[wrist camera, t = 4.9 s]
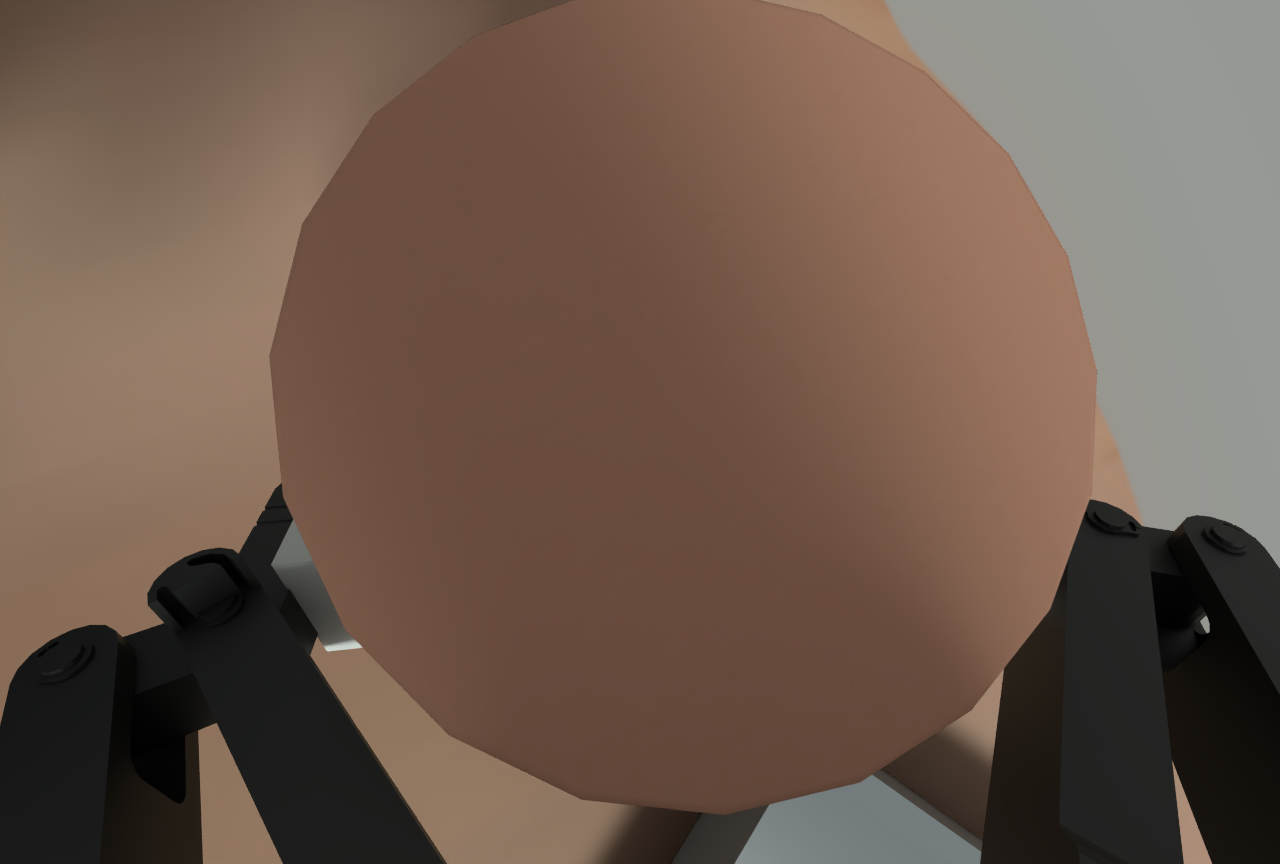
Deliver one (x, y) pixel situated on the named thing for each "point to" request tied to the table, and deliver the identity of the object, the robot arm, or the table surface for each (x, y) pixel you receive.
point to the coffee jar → (684, 401)
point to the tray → (835, 830)
